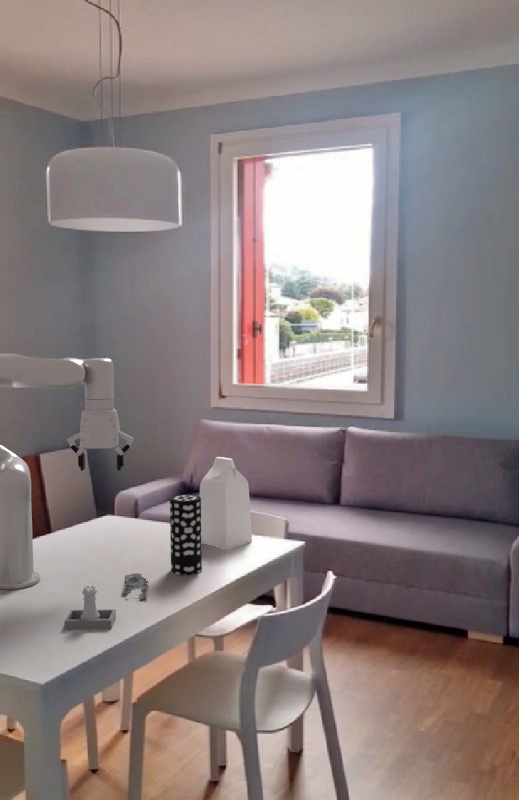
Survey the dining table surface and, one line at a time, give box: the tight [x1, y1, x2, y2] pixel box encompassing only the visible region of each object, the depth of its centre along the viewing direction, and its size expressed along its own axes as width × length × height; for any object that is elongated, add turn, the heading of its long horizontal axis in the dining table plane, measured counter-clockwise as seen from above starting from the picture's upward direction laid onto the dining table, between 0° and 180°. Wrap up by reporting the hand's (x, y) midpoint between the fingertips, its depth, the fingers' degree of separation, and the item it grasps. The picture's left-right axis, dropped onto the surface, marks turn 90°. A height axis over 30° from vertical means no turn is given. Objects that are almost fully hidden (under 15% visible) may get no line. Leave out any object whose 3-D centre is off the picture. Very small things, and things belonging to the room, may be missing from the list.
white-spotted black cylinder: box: [169, 494, 203, 576], centre depth 218 cm, size 8×8×20 cm
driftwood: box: [120, 572, 150, 601], centre depth 206 cm, size 21×7×2 cm, turn 4°
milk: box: [199, 456, 253, 550], centre depth 246 cm, size 12×12×26 cm
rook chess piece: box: [80, 585, 100, 620], centre depth 181 cm, size 4×4×8 cm
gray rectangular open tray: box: [64, 608, 117, 630], centre depth 181 cm, size 10×7×2 cm, turn 92°
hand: (101, 469), depth 214 cm, fingers open, 9 cm apart
